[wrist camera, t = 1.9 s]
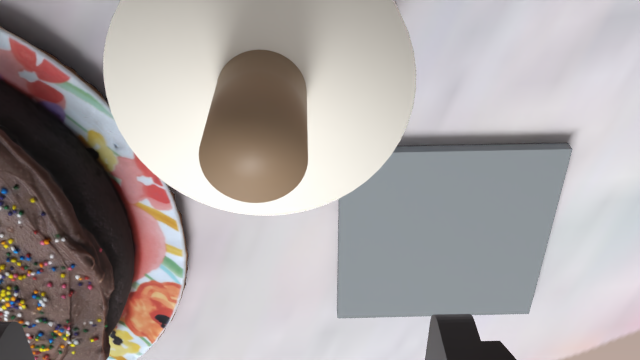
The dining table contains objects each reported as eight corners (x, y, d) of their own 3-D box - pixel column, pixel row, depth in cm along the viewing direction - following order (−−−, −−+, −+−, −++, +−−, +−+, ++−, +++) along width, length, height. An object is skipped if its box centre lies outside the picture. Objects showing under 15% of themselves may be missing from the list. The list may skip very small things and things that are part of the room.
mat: (339, 147, 30) (340, 153, 30) (567, 143, 31) (572, 149, 30) (337, 311, 37) (337, 318, 36) (525, 306, 37) (528, 313, 37)
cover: (79, -77, 19) (10, -31, 15) (425, -81, 19) (463, -37, 15) (139, 203, 25) (103, 298, 21) (401, 198, 25) (423, 291, 21)
